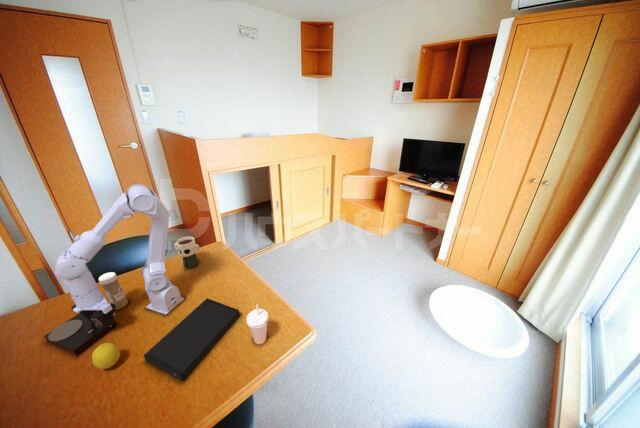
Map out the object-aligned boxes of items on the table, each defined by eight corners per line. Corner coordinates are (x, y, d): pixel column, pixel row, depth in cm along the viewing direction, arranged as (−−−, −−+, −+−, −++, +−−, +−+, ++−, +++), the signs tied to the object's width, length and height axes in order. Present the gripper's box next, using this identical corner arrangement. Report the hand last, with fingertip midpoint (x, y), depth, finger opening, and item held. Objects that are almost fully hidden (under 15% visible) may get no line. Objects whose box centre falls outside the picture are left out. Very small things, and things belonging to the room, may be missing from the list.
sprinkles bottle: (127, 306, 86) (114, 277, 80) (111, 312, 83) (96, 282, 78) (128, 298, 89) (115, 269, 83) (113, 303, 87) (99, 274, 81)
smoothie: (274, 333, 77) (271, 301, 71) (263, 351, 71) (259, 317, 65) (257, 327, 79) (252, 295, 73) (245, 344, 73) (239, 311, 67)
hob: (126, 322, 80) (123, 316, 78) (80, 357, 69) (76, 351, 67) (94, 310, 84) (91, 304, 83) (47, 341, 73) (43, 335, 72)
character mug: (175, 269, 105) (167, 244, 99) (184, 259, 111) (178, 235, 106) (199, 270, 104) (193, 245, 99) (207, 260, 111) (201, 236, 105)
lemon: (103, 379, 63) (91, 360, 60) (95, 368, 66) (83, 349, 63) (127, 362, 68) (117, 343, 64) (118, 352, 70) (108, 333, 67)
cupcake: (112, 320, 77) (107, 311, 76) (99, 329, 74) (95, 320, 73) (104, 317, 78) (100, 308, 77) (92, 325, 75) (87, 317, 74)
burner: (88, 324, 76) (88, 323, 76) (58, 344, 69) (58, 344, 69) (73, 317, 78) (72, 316, 78) (42, 337, 71) (42, 336, 71)
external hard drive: (239, 316, 83) (238, 310, 81) (183, 382, 63) (180, 375, 62) (208, 304, 87) (206, 298, 86) (146, 362, 68) (142, 355, 66)
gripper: (51, 292, 69) (71, 325, 75) (84, 305, 65) (103, 339, 71) (80, 277, 75) (97, 308, 81) (112, 288, 71) (127, 320, 77)
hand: (101, 322), depth 76 cm, fingers open, 7 cm apart
